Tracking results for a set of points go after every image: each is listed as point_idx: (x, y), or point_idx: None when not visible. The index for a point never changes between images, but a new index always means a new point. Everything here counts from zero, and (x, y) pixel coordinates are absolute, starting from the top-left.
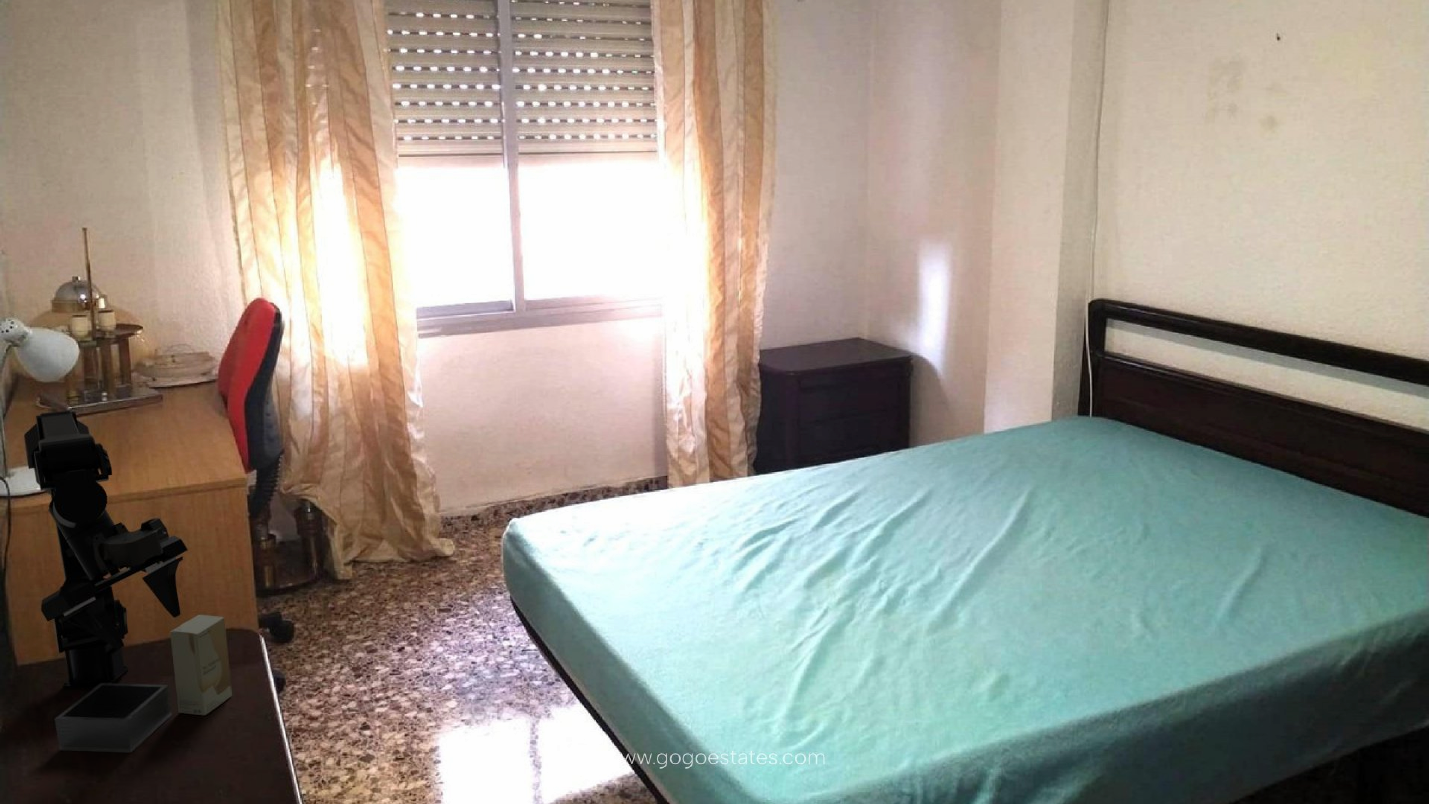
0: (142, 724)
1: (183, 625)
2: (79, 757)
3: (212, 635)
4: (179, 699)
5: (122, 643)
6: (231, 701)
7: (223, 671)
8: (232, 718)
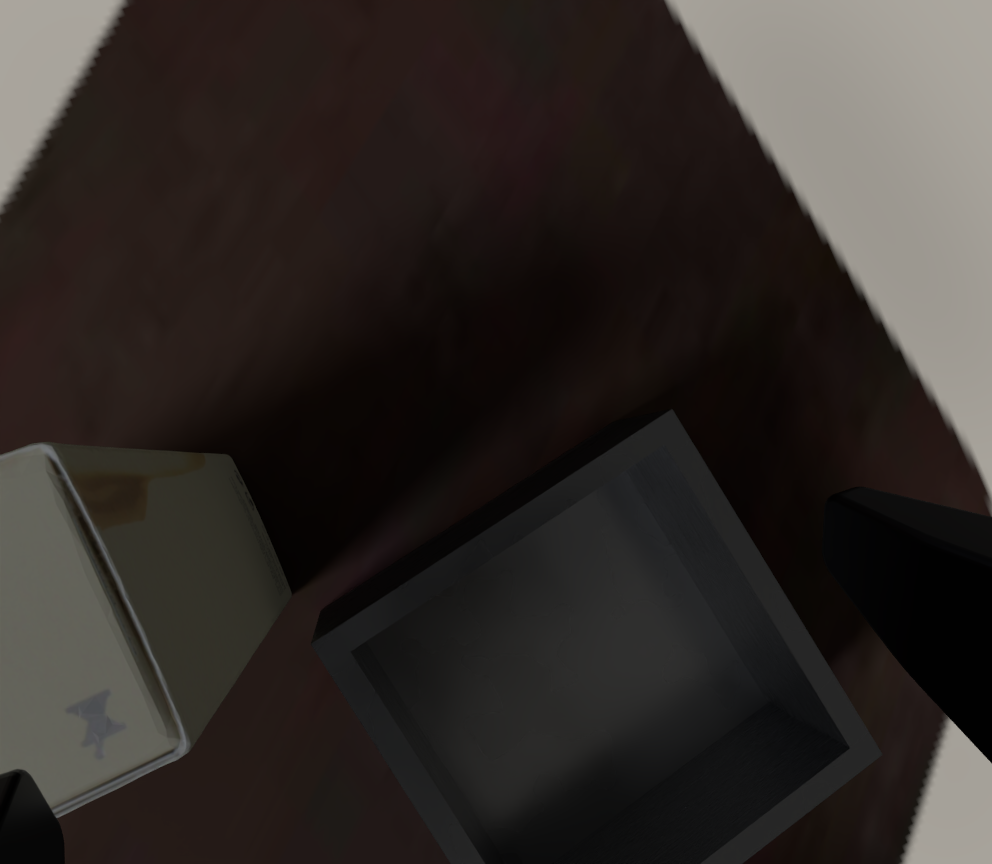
0: (542, 478)
1: None
2: None
3: None
4: (278, 594)
5: (863, 497)
6: None
7: None
8: (153, 321)
